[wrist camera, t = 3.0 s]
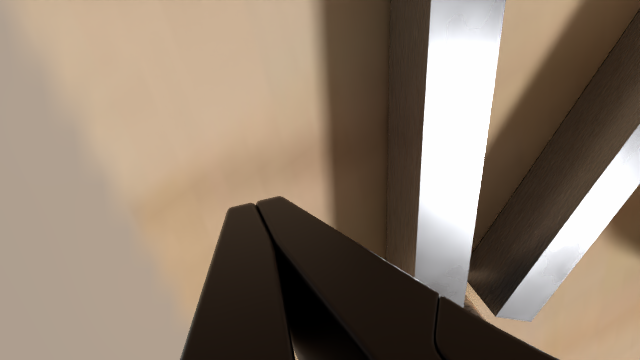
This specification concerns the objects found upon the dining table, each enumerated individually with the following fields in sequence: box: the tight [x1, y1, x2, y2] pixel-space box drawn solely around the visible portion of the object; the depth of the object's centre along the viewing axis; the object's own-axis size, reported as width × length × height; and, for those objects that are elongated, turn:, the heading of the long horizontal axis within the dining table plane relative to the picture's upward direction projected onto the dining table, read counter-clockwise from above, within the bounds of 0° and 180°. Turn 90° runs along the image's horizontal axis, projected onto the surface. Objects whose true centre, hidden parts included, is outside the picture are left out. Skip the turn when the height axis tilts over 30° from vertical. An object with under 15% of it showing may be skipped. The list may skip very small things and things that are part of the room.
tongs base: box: [463, 10, 640, 322], centre depth 22 cm, size 23×5×4 cm, turn 154°
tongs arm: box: [386, 0, 506, 307], centre depth 19 cm, size 17×2×3 cm, turn 4°
